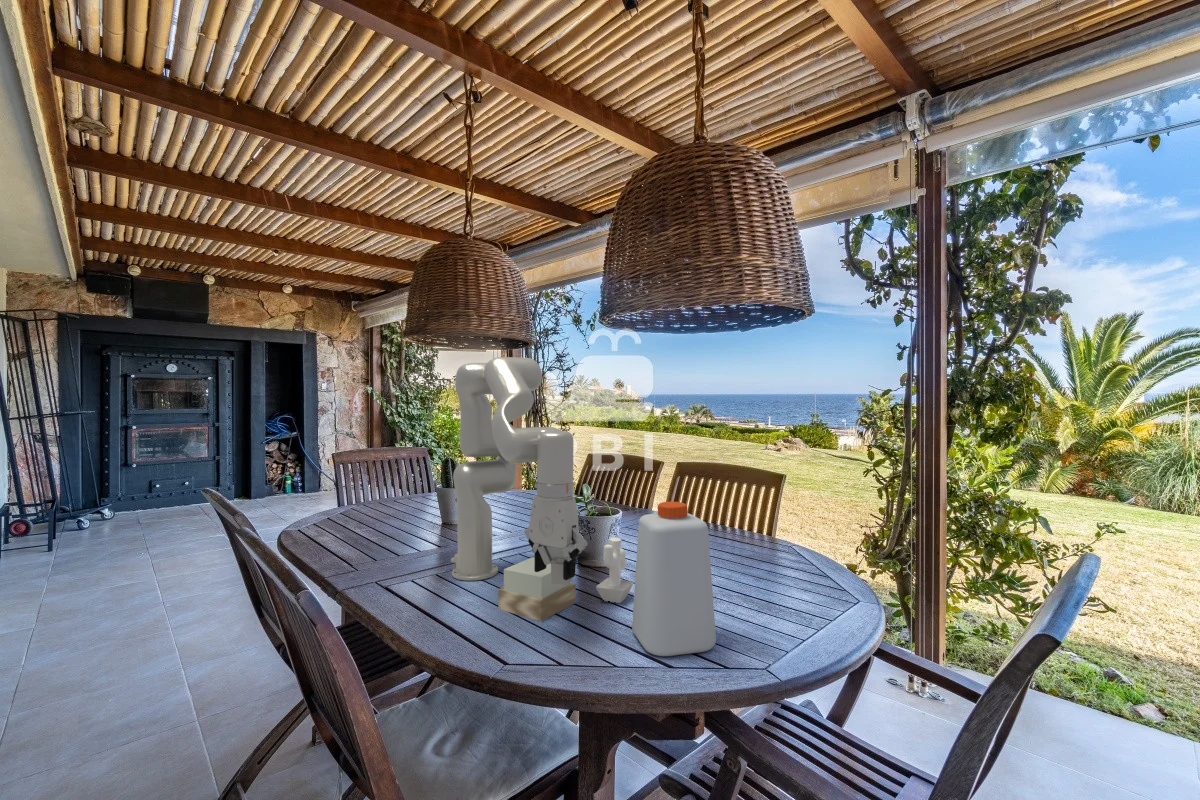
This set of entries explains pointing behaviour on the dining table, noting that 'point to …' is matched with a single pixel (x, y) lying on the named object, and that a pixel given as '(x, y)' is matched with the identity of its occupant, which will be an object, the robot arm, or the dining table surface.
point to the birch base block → (537, 603)
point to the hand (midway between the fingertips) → (554, 573)
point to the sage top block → (529, 580)
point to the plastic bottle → (673, 583)
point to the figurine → (614, 573)
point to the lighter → (554, 566)
